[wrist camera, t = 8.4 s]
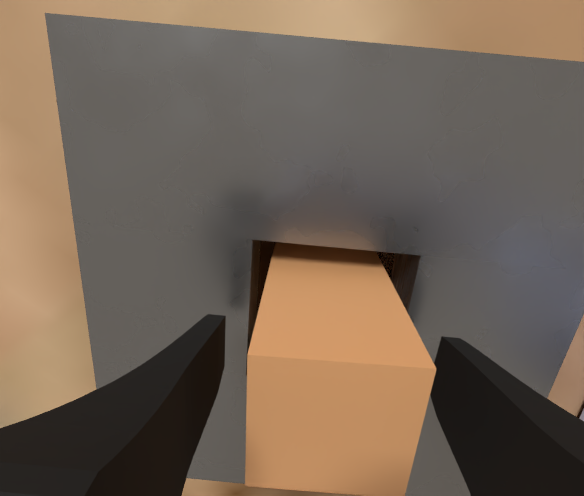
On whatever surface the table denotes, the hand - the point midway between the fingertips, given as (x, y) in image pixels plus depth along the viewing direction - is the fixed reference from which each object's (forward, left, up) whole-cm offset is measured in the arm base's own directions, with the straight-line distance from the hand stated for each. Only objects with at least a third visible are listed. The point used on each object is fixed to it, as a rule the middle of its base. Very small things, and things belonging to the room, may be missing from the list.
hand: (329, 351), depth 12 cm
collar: (0, 0, -5) cm, 5 cm away
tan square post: (0, 0, -5) cm, 5 cm away
